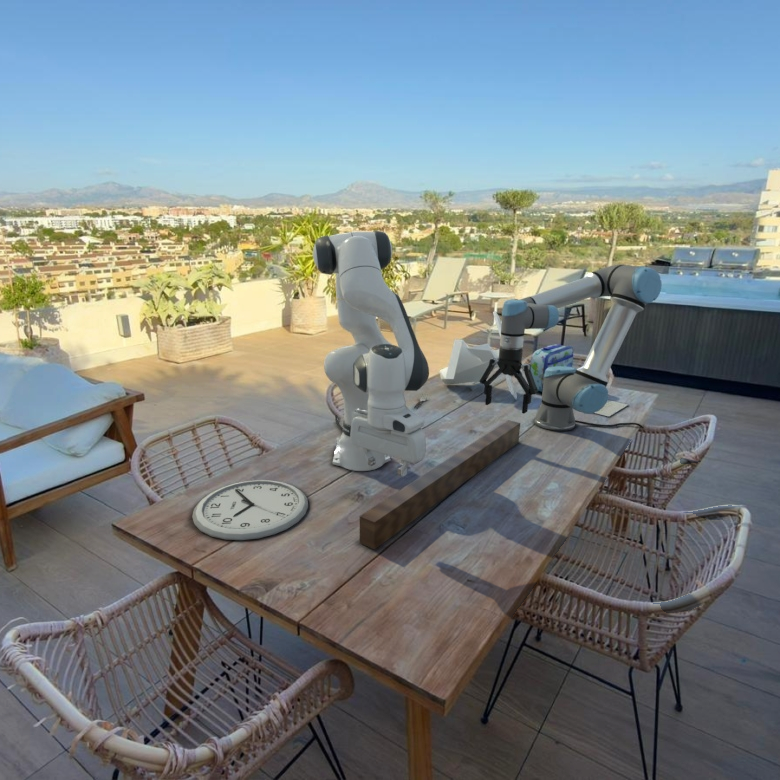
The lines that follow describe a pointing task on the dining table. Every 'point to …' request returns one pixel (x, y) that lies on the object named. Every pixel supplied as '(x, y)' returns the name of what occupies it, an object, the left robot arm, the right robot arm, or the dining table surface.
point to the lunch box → (549, 361)
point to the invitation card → (611, 408)
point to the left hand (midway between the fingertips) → (386, 469)
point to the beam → (434, 486)
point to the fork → (421, 400)
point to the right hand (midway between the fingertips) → (505, 408)
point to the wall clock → (250, 510)
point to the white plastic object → (472, 362)
